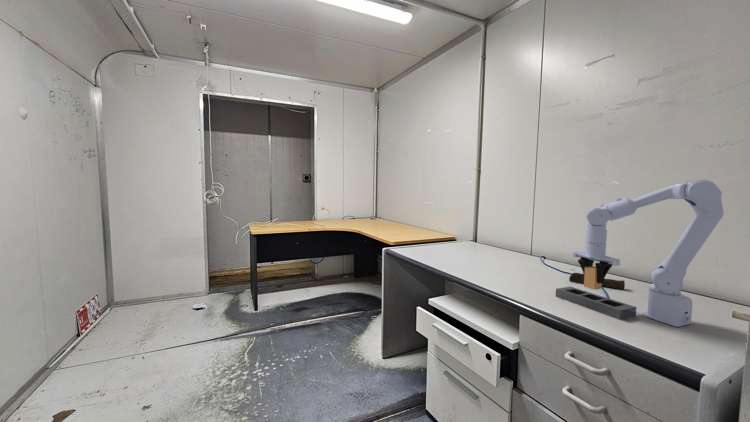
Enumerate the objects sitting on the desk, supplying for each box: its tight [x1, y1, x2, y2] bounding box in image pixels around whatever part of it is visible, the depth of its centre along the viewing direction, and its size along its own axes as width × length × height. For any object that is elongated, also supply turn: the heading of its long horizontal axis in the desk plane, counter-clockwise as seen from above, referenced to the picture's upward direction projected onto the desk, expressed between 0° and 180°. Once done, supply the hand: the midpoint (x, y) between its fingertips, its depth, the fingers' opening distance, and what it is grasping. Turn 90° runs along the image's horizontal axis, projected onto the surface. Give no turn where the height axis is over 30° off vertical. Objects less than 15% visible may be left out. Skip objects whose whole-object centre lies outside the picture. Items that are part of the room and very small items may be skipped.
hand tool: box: [568, 272, 626, 291], centre depth 128 cm, size 19×4×5 cm, turn 53°
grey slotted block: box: [555, 286, 637, 320], centre depth 105 cm, size 22×8×3 cm, turn 21°
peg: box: [583, 265, 603, 290], centre depth 104 cm, size 4×4×7 cm
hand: (593, 281), depth 105 cm, fingers closed on peg, 4 cm apart
